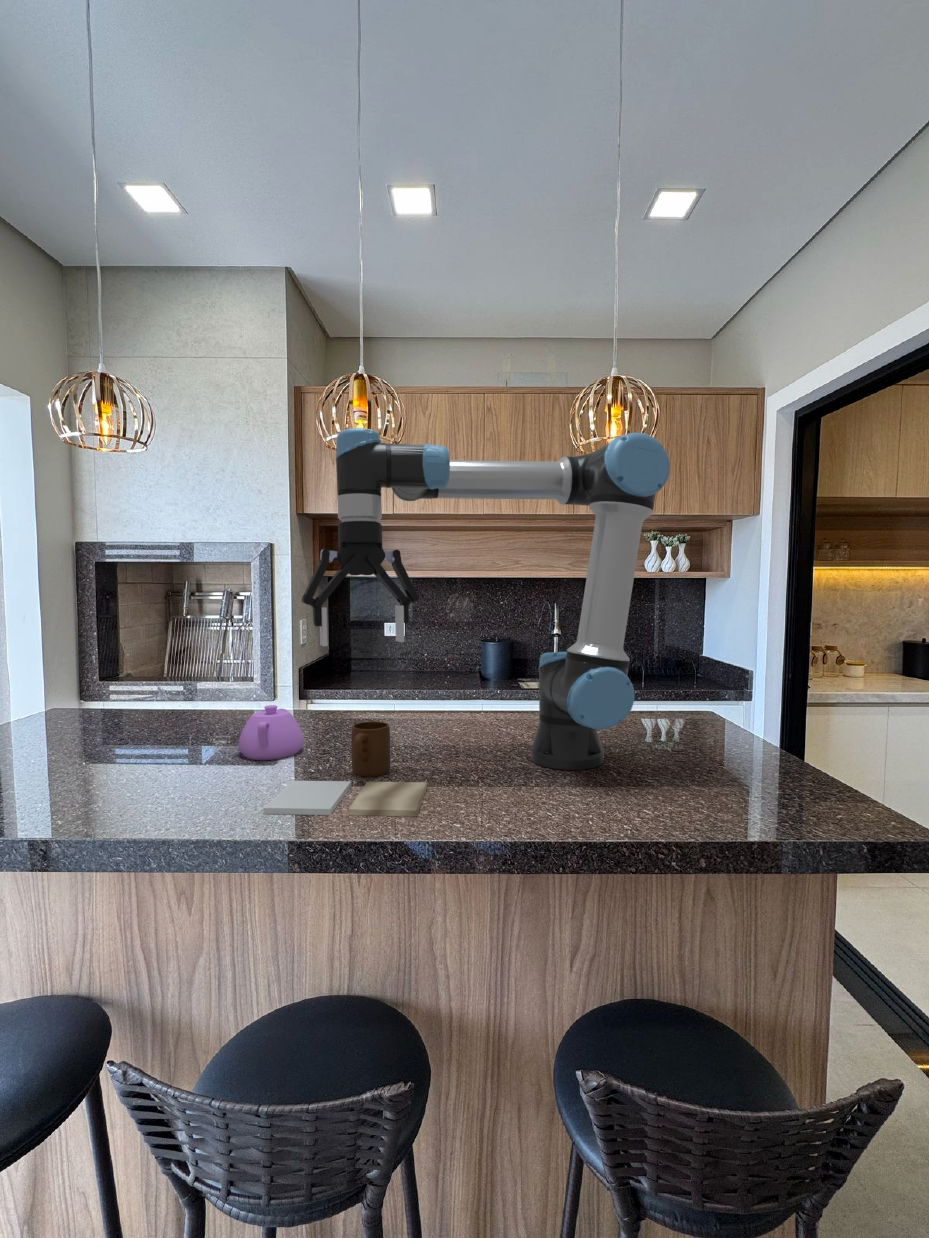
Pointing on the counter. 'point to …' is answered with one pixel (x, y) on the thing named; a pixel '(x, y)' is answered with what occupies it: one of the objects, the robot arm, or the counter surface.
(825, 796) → the counter surface
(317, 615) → the robot arm
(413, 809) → the tile oak
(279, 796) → the tile grey
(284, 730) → the teapot
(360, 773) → the mug
